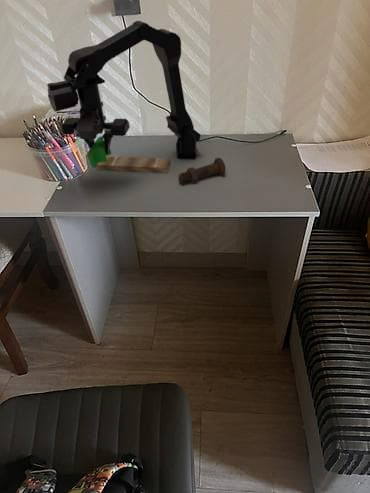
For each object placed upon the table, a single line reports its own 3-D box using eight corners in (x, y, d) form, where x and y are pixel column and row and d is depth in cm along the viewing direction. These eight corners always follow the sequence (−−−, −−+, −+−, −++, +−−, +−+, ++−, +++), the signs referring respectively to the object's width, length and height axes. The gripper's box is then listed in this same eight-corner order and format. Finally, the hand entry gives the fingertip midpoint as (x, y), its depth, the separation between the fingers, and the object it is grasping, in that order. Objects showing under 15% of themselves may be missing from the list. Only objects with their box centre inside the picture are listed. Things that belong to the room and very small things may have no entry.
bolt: (179, 188, 120) (220, 175, 124) (184, 188, 116) (227, 174, 120) (174, 170, 119) (216, 157, 123) (179, 169, 114) (222, 156, 118)
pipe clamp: (103, 167, 110) (98, 153, 107) (92, 168, 111) (86, 154, 108) (114, 148, 118) (109, 135, 115) (103, 149, 119) (98, 136, 116)
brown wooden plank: (170, 164, 128) (169, 158, 126) (167, 173, 123) (166, 167, 122) (102, 161, 131) (101, 155, 129) (97, 170, 126) (95, 164, 125)
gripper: (46, 113, 99) (62, 165, 109) (115, 114, 96) (124, 168, 107) (62, 97, 107) (75, 147, 117) (126, 98, 104) (133, 149, 115)
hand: (101, 153), depth 114 cm, fingers closed on pipe clamp, 4 cm apart
